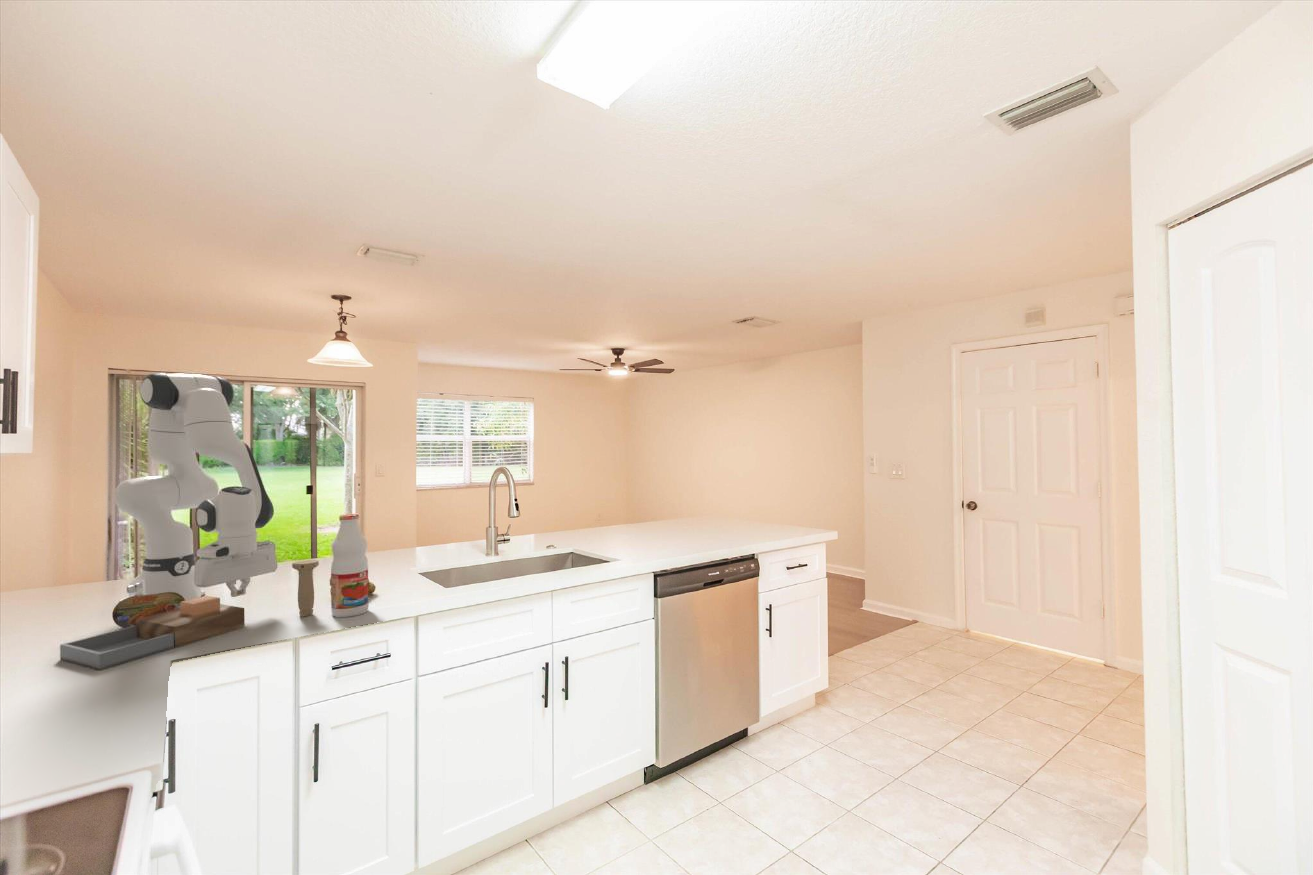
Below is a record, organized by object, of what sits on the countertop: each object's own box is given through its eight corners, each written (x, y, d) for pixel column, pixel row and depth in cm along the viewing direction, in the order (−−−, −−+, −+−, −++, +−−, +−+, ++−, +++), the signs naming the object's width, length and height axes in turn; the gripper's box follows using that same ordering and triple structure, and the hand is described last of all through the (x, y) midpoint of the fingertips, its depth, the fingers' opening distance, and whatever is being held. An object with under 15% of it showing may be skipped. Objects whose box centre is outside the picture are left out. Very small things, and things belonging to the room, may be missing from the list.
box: (60, 659, 131) (60, 644, 131) (135, 639, 144) (134, 625, 144) (99, 670, 125) (99, 654, 125) (173, 648, 138) (173, 633, 138)
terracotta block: (180, 613, 149) (180, 601, 149) (205, 606, 155) (205, 595, 155) (194, 615, 147) (194, 604, 147) (220, 609, 152) (220, 597, 152)
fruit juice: (352, 606, 171) (351, 512, 171) (376, 609, 167) (374, 513, 167) (323, 615, 162) (322, 516, 162) (348, 619, 159) (346, 517, 158)
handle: (315, 616, 161) (315, 563, 161) (290, 618, 160) (289, 564, 160) (321, 611, 166) (321, 559, 166) (296, 613, 165) (296, 560, 164)
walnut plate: (136, 639, 144) (136, 619, 144) (206, 619, 159) (206, 601, 159) (175, 647, 138) (174, 626, 138) (244, 626, 153) (244, 607, 153)
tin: (112, 631, 151) (111, 599, 151) (116, 627, 154) (116, 596, 154) (184, 622, 158) (184, 591, 158) (187, 618, 161) (187, 588, 161)
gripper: (267, 538, 170) (268, 585, 170) (189, 551, 151) (190, 604, 151) (282, 539, 168) (282, 587, 168) (204, 553, 149) (205, 607, 149)
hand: (238, 595), depth 159 cm, fingers closed
